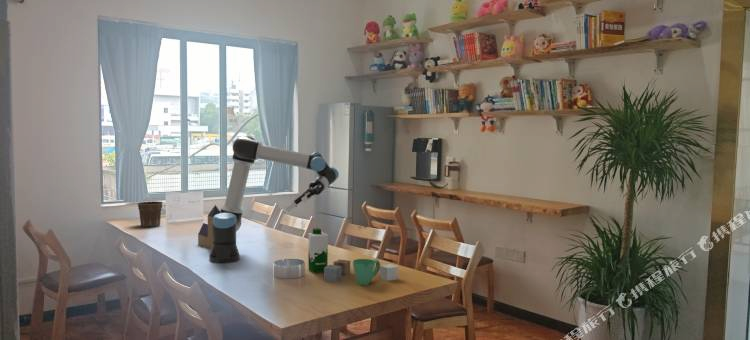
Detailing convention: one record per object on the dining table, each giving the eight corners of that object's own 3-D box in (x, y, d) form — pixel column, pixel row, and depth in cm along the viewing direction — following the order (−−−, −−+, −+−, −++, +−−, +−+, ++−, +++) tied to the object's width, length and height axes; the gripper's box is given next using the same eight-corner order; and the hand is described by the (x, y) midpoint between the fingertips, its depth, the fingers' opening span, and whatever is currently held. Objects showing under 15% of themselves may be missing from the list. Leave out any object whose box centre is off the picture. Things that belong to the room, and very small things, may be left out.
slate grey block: (323, 280, 243) (324, 267, 243) (329, 277, 249) (329, 264, 248) (335, 282, 241) (336, 269, 240) (341, 278, 246) (341, 266, 246)
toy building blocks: (212, 250, 299) (212, 205, 297) (198, 244, 313) (198, 202, 311) (233, 247, 307) (233, 204, 306) (218, 242, 321) (218, 200, 320)
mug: (363, 288, 232) (364, 265, 232) (347, 283, 239) (348, 261, 238) (386, 281, 243) (386, 259, 242) (370, 277, 250) (370, 256, 249)
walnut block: (333, 274, 254) (333, 262, 253) (338, 271, 259) (338, 259, 259) (344, 276, 251) (345, 263, 251) (350, 273, 257) (350, 260, 257)
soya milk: (322, 267, 266) (323, 227, 264) (329, 272, 258) (330, 230, 256) (306, 269, 262) (306, 228, 260) (312, 273, 254) (313, 232, 252)
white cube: (379, 278, 250) (380, 265, 249) (390, 276, 253) (390, 263, 252) (387, 281, 245) (387, 268, 244) (397, 279, 248) (398, 266, 247)
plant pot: (132, 227, 363) (132, 203, 362) (146, 223, 379) (146, 200, 377) (154, 228, 360) (154, 204, 359) (167, 224, 376) (167, 201, 375)
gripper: (337, 182, 279) (314, 202, 263) (308, 199, 295) (285, 218, 279) (328, 171, 279) (305, 190, 262) (300, 188, 295) (277, 207, 279)
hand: (295, 205), depth 271 cm, fingers open, 13 cm apart
